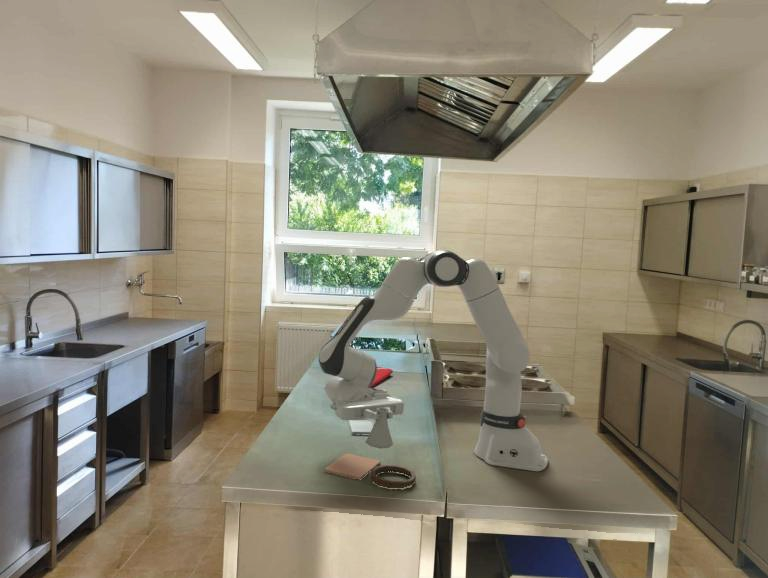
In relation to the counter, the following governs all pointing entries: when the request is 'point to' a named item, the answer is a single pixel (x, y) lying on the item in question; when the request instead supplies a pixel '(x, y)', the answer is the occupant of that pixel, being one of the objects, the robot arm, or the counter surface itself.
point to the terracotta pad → (352, 466)
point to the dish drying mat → (380, 375)
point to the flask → (380, 432)
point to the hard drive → (360, 426)
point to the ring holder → (392, 484)
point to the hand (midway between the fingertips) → (384, 416)
